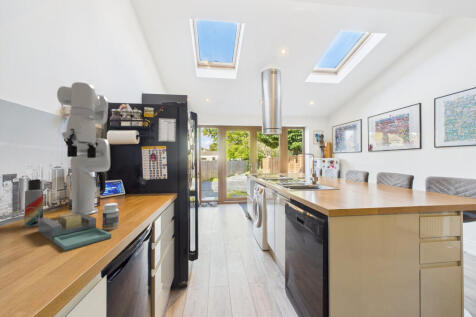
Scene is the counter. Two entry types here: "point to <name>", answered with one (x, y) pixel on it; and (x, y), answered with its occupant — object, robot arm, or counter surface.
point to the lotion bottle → (33, 203)
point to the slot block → (57, 230)
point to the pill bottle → (110, 216)
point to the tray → (81, 238)
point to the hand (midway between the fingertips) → (82, 157)
